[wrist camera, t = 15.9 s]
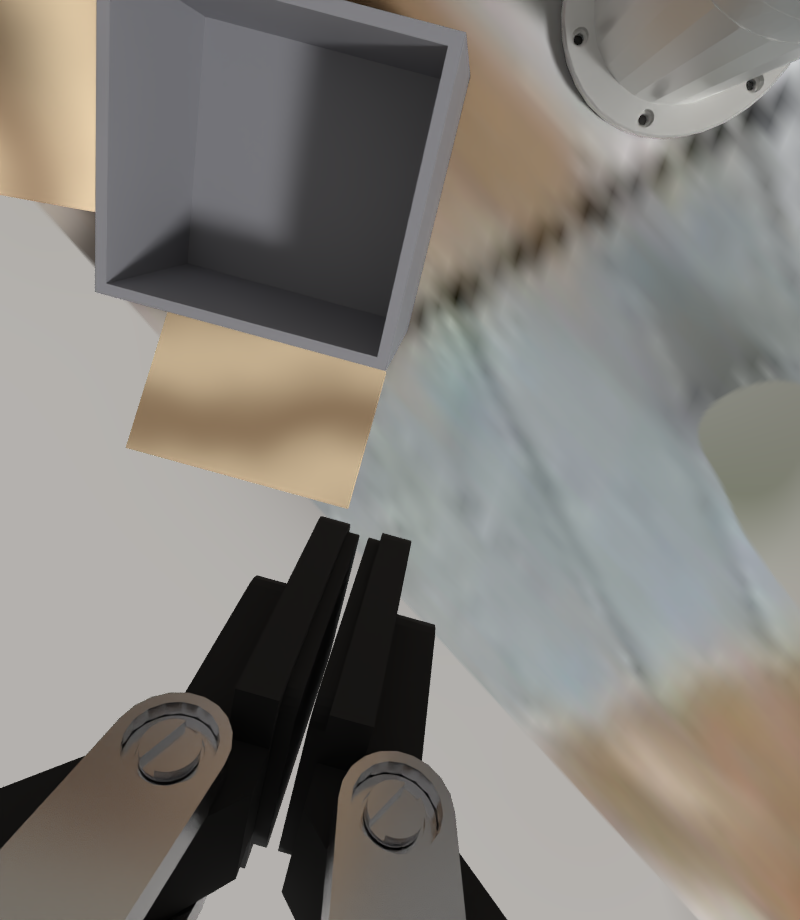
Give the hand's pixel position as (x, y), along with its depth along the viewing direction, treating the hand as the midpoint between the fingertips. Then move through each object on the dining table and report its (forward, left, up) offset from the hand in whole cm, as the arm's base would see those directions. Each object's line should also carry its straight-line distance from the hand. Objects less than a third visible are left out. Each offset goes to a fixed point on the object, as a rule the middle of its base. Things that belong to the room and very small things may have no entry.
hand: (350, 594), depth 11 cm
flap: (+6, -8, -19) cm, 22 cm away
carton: (-5, -10, -31) cm, 33 cm away
